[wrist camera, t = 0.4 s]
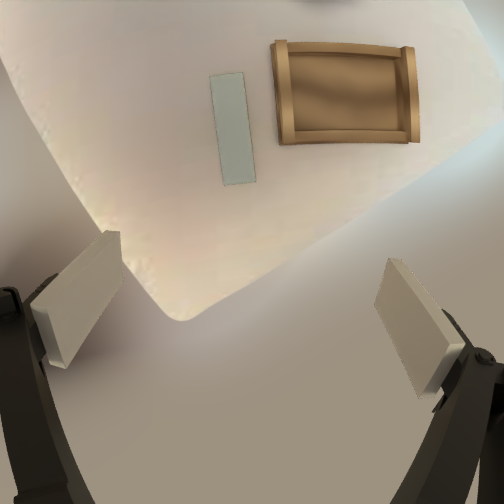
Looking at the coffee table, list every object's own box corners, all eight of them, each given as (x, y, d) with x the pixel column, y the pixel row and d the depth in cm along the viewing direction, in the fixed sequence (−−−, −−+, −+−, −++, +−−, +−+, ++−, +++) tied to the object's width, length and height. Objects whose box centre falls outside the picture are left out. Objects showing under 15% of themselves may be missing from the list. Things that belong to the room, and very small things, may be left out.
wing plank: (211, 78, 36) (209, 76, 34) (243, 73, 35) (242, 72, 34) (225, 183, 41) (224, 185, 40) (255, 179, 41) (255, 182, 40)
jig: (270, 45, 33) (272, 35, 28) (398, 50, 32) (415, 43, 28) (279, 144, 38) (282, 148, 34) (404, 142, 38) (422, 147, 33)
